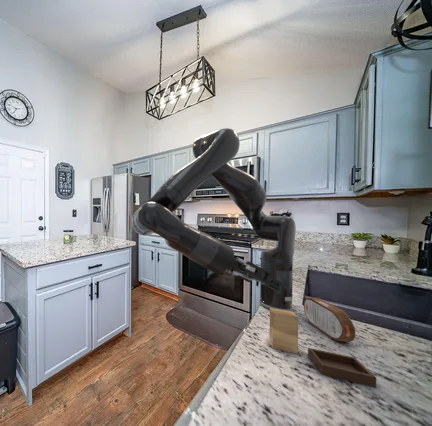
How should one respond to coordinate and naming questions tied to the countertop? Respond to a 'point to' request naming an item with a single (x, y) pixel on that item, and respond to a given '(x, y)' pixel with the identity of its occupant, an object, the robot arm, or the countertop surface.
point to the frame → (341, 367)
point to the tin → (329, 319)
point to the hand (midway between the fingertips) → (264, 282)
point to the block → (283, 330)
